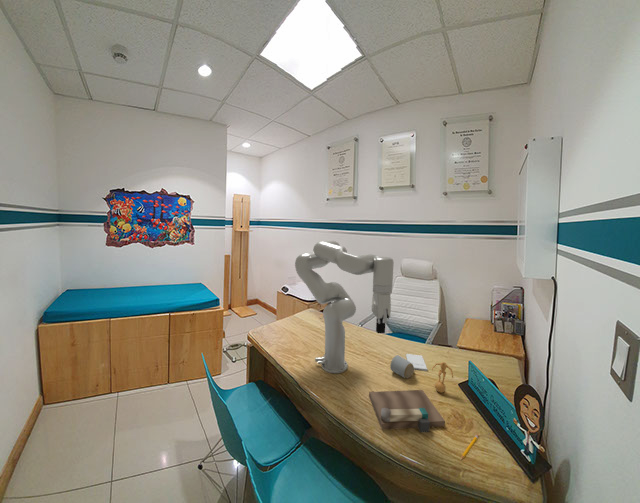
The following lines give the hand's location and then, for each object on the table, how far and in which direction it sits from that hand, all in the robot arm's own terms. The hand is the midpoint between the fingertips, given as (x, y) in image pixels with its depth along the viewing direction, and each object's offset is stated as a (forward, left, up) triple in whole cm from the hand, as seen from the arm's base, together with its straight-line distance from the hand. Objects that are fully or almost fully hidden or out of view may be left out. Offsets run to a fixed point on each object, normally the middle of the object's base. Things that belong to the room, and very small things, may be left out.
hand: (380, 332), depth 101 cm
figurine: (+26, -2, -25) cm, 36 cm away
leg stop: (+9, -21, -25) cm, 34 cm away
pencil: (+20, -28, -26) cm, 43 cm away
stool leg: (+3, -18, -23) cm, 29 cm away
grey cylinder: (+15, +11, -25) cm, 31 cm away
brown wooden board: (+6, -12, -25) cm, 28 cm away
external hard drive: (+25, +19, -26) cm, 41 cm away
